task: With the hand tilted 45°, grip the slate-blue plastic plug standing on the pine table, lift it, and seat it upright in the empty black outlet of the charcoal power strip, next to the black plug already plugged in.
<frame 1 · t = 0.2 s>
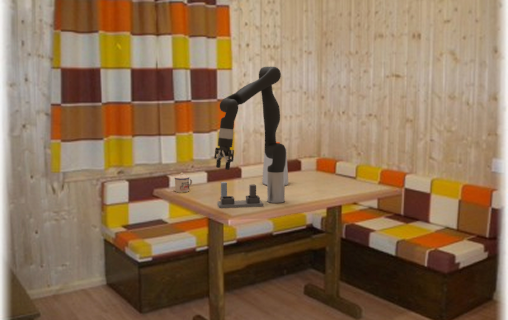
hand: (222, 168, 280), 22 cm above the table, tool pointing down, fingers open, 8 cm apart
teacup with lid: (184, 191, 334), on the table
plastic bottle: (275, 184, 356), on the table
plug: (223, 198, 313), on the table
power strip: (240, 205, 296), on the table
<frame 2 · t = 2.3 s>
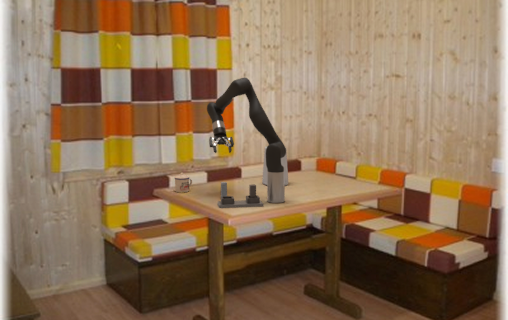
hand: (223, 152, 315), 26 cm above the table, tool tilted 40°, fingers open, 8 cm apart
nothing on the table moved.
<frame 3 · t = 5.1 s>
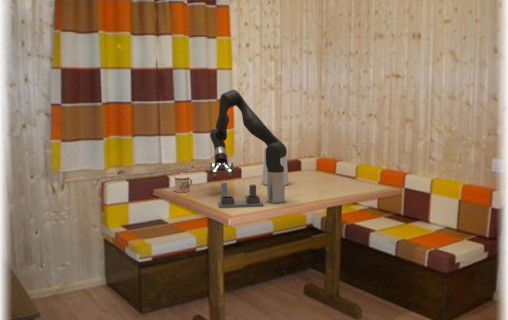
hand: (222, 178, 318), 11 cm above the table, tool tilted 45°, fingers open, 8 cm apart
nothing on the table moved.
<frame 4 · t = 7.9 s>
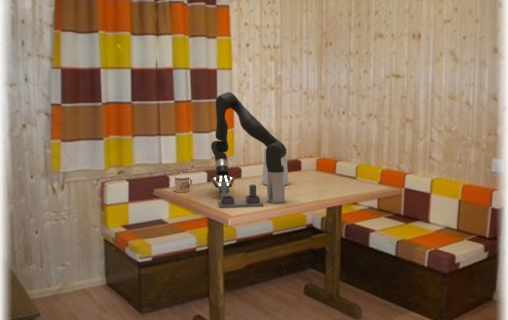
hand: (224, 192, 310), 4 cm above the table, tool tilted 45°, fingers closed on plug, 3 cm apart
plug: (223, 198, 313), on the table, touching gripper
everything else where it was.
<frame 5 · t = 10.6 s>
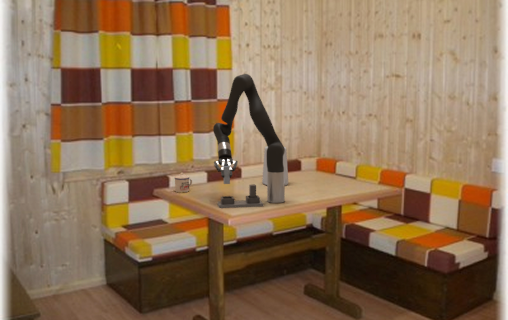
hand: (227, 176, 294), 16 cm above the table, tool tilted 45°, fingers closed on plug, 3 cm apart
plug: (226, 183, 297), point 12 cm above the table, touching gripper
everything else where it was.
when the fingers open (6 cm above the table, at t = 13.6 s): plug stays where it is, resting on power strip.
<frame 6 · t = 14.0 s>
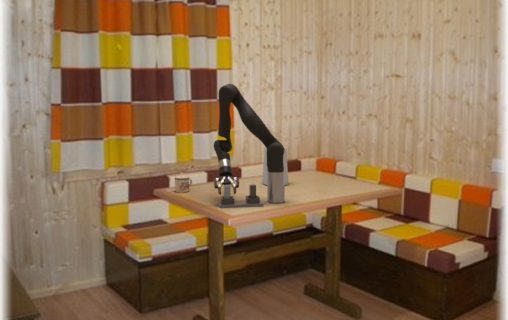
hand: (227, 193, 292), 7 cm above the table, tool tilted 45°, fingers open, 7 cm apart
plug: (227, 203, 295), point 1 cm above the table, touching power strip
everything else where it was.
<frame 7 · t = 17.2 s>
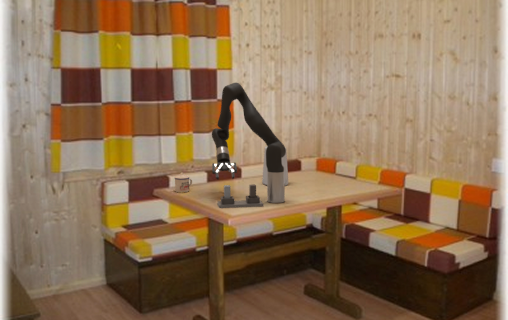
hand: (225, 178, 307), 12 cm above the table, tool tilted 45°, fingers open, 8 cm apart
nothing on the table moved.
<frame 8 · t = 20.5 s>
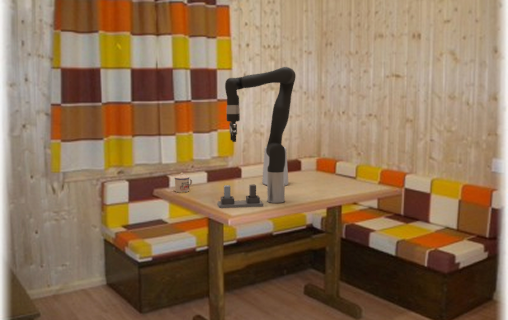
hand: (233, 141, 312), 33 cm above the table, tool pointing down, fingers open, 8 cm apart
nothing on the table moved.
at the end: plug 0.1 cm from the target spot on the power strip, point 1.5 cm above the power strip's base; plug tilted 0°; the gripper is holding nothing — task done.
